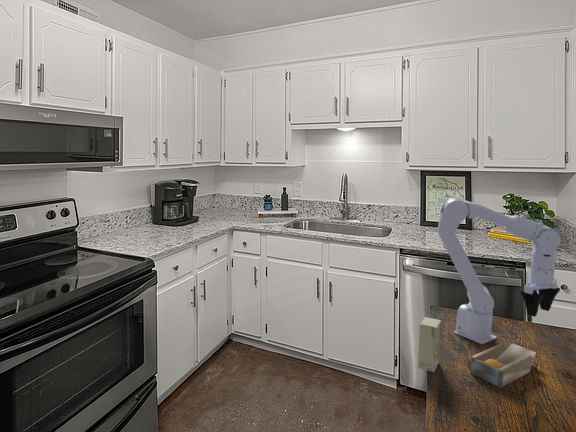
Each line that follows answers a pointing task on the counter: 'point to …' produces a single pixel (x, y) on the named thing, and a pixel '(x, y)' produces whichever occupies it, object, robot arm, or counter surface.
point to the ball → (493, 363)
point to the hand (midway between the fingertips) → (538, 312)
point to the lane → (502, 364)
